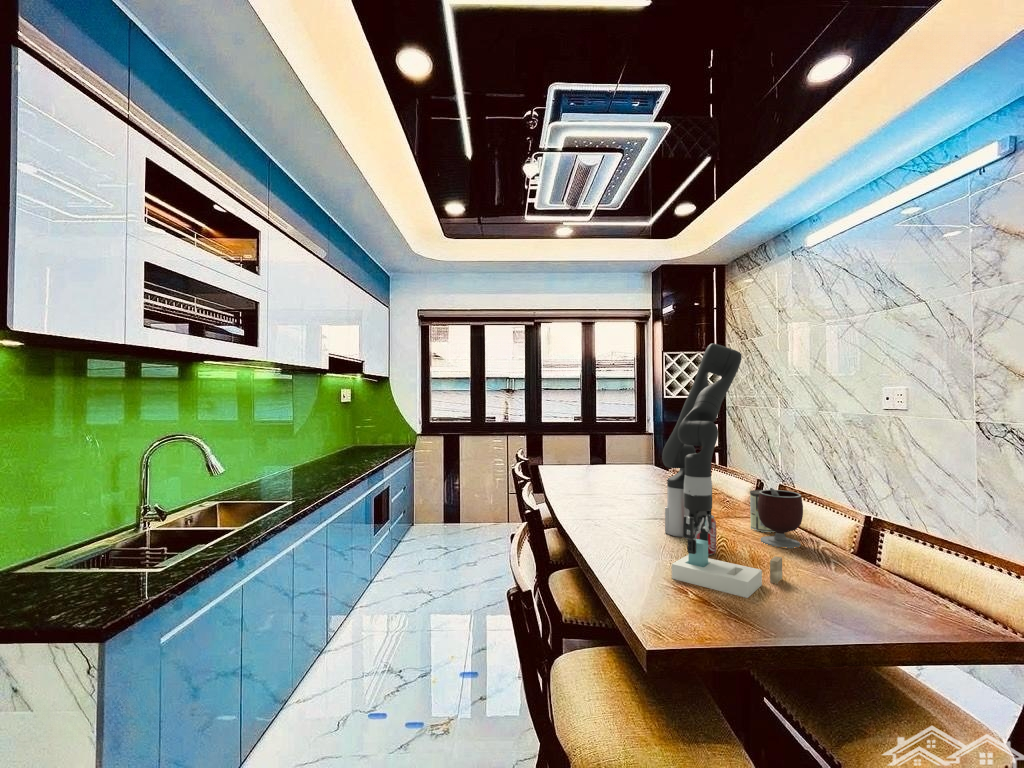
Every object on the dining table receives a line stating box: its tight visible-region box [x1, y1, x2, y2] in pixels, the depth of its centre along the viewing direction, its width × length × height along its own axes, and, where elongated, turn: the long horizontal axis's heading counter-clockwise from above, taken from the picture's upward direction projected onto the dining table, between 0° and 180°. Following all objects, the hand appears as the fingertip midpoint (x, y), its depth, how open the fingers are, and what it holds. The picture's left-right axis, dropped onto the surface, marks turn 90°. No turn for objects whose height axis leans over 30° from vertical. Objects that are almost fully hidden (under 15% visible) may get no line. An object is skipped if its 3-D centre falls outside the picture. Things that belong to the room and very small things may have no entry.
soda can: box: [696, 514, 717, 556], centre depth 164 cm, size 7×7×12 cm
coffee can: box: [749, 489, 775, 534], centre depth 193 cm, size 10×10×14 cm
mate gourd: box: [758, 487, 804, 549], centre depth 175 cm, size 16×14×20 cm
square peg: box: [688, 539, 709, 567], centre depth 143 cm, size 4×4×10 cm
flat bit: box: [769, 555, 783, 585], centre depth 140 cm, size 2×5×6 cm, turn 138°
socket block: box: [671, 553, 763, 599], centre depth 139 cm, size 20×12×4 cm, turn 48°
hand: (697, 549), depth 143 cm, fingers open, 8 cm apart
